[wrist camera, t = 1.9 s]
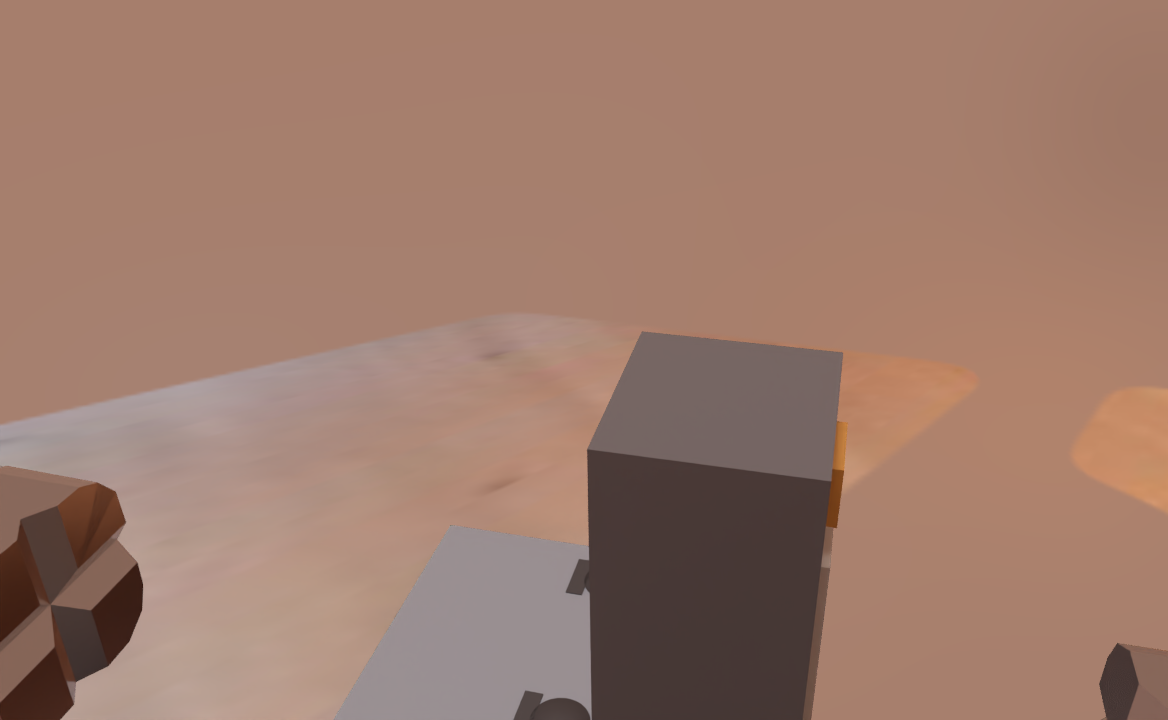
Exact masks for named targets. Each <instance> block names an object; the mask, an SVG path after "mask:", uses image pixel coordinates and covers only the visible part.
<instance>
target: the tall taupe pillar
mask: <svg viewBox="0 0 1168 720" xmlns="http://www.w3.org/2000/svg"><path fill="white" fill-rule="evenodd" d="M842 359H843V353H842V352H833V351H823V350H814V349H804V348H794V347H785V346H775V345H766V344H756V343H747V342H737V341H727V340H718V339H708V338H699V337H689V336H680V335H670V334H660V333H651V332H642V333H641V335H640V337H639V339H638V341H637V343H636V345H635V348H634V350H633V352H632V354H631V356H630V358H629V361H628V363H627V365H626V367H625V369H624V371H623V373H622V376H621V378H620V380H619V382H618V384H617V386H616V389H615V391H614V393H613V395H612V397H611V399H610V401H609V404H608V406H607V408H606V410H605V412H604V414H603V417H602V419H601V421H600V423H599V425H598V427H597V429H596V432H595V434H594V436H593V438H592V440H591V442H590V445H589V447H588V449H587V458H588V522H589V586H590V649H591V713H592V720H811V716H812V708H813V700H814V692H815V683H816V676H817V667H818V659H819V652H820V644H821V636H822V627H823V620H824V611H825V604H826V596H827V588H828V580H829V572H830V562H831V551H832V538H833V528H837V522H838V514H839V506H840V498H841V491H842V483H843V475H844V464H845V451H846V437H847V424H848V423H846V422H838V421H837V413H838V402H839V392H840V381H841V370H842Z"/></svg>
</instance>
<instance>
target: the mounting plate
mask: <svg viewBox="0 0 1168 720" xmlns="http://www.w3.org/2000/svg"><path fill="white" fill-rule="evenodd" d="M334 720H592V713H591V649H590V586H589V546H585V545H578V544H572V543H565V542H559V541H552V540H546V539H539V538H533V537H526V536H520V535H513V534H507V533H500V532H494V531H487V530H481V529H474V528H468V527H461V526H455V525H450V527H449V529H448V530H447V532H446V534H445V535H444V537H443V539H442V540H441V542H440V544H439V545H438V547H437V549H436V550H435V552H434V554H433V555H432V557H431V559H430V560H429V562H428V564H427V565H426V567H425V569H424V570H423V572H422V573H421V575H420V577H419V578H418V580H417V582H416V583H415V585H414V587H413V588H412V590H411V592H410V593H409V595H408V597H407V598H406V600H405V602H404V603H403V605H402V607H401V608H400V610H399V612H398V613H397V615H396V617H395V618H394V620H393V622H392V623H391V625H390V627H389V628H388V630H387V632H386V633H385V635H384V637H383V638H382V640H381V642H380V643H379V645H378V647H377V648H376V650H375V652H374V653H373V655H372V657H371V658H370V660H369V661H368V663H367V665H366V666H365V668H364V670H363V671H362V673H361V675H360V676H359V678H358V680H357V681H356V683H355V685H354V686H353V688H352V690H351V691H350V693H349V695H348V696H347V698H346V700H345V701H344V703H343V705H342V706H341V708H340V710H339V711H338V713H337V715H336V716H335V718H334Z"/></svg>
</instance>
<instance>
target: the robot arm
mask: <svg viewBox="0 0 1168 720" xmlns="http://www.w3.org/2000/svg"><path fill="white" fill-rule="evenodd" d="M125 523H126V521H125V518H124V515H123V512H122V509H121V506H120V503H119V500H118V497H117V494H116V492H115V491H113V490H111V489H109V488H107V487H105V486H103V485H101V484H99V483H97V482H92V481H86V480H81V479H75V478H70V477H64V476H59V475H54V474H48V473H43V472H37V471H32V470H27V469H21V468H16V467H10V466H4V467H2V466H0V720H60V719H61V718H62V717H63V716H64V715H65V714H66V713H67V712H68V710H69V709H70V708H71V707H72V706H73V705H74V699H75V688H76V682H77V681H79V680H81V679H83V678H85V677H87V676H89V675H91V674H93V673H95V672H97V671H99V670H101V669H103V668H105V667H107V666H109V665H110V664H111V662H112V661H113V660H114V659H115V658H116V657H117V655H118V654H119V653H120V652H121V651H122V650H123V648H124V647H125V646H126V645H127V644H128V643H129V641H130V639H131V636H132V634H133V631H134V629H135V626H136V624H137V622H138V619H139V617H140V614H141V612H142V602H143V582H142V578H141V574H140V571H139V567H138V563H137V561H136V560H135V559H134V558H133V557H132V556H131V555H130V554H129V553H128V551H127V550H126V549H125V548H124V547H123V546H122V545H121V544H120V543H119V541H118V540H117V538H118V537H119V535H120V533H121V531H122V529H123V527H124V525H125ZM1099 685H1100V690H1101V694H1102V699H1103V703H1104V708H1105V713H1106V717H1105V718H1103V719H1102V720H1168V651H1166V650H1159V649H1153V648H1146V647H1139V646H1133V645H1127V644H1120V643H1117V645H1116V646H1115V648H1114V649H1113V651H1112V652H1111V654H1110V655H1109V656H1108V658H1107V662H1106V665H1105V668H1104V671H1103V674H1102V677H1101V680H1100V684H1099Z"/></svg>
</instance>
